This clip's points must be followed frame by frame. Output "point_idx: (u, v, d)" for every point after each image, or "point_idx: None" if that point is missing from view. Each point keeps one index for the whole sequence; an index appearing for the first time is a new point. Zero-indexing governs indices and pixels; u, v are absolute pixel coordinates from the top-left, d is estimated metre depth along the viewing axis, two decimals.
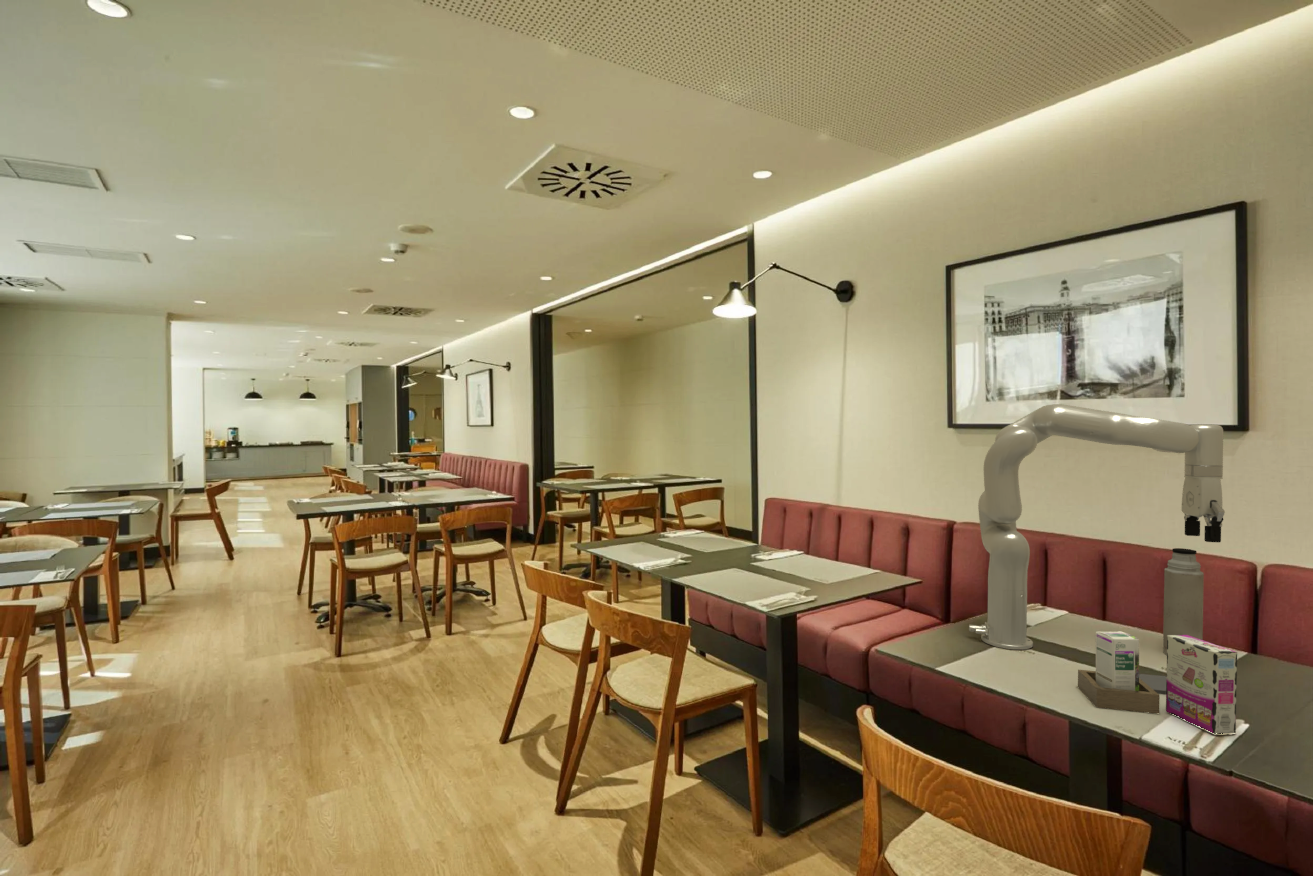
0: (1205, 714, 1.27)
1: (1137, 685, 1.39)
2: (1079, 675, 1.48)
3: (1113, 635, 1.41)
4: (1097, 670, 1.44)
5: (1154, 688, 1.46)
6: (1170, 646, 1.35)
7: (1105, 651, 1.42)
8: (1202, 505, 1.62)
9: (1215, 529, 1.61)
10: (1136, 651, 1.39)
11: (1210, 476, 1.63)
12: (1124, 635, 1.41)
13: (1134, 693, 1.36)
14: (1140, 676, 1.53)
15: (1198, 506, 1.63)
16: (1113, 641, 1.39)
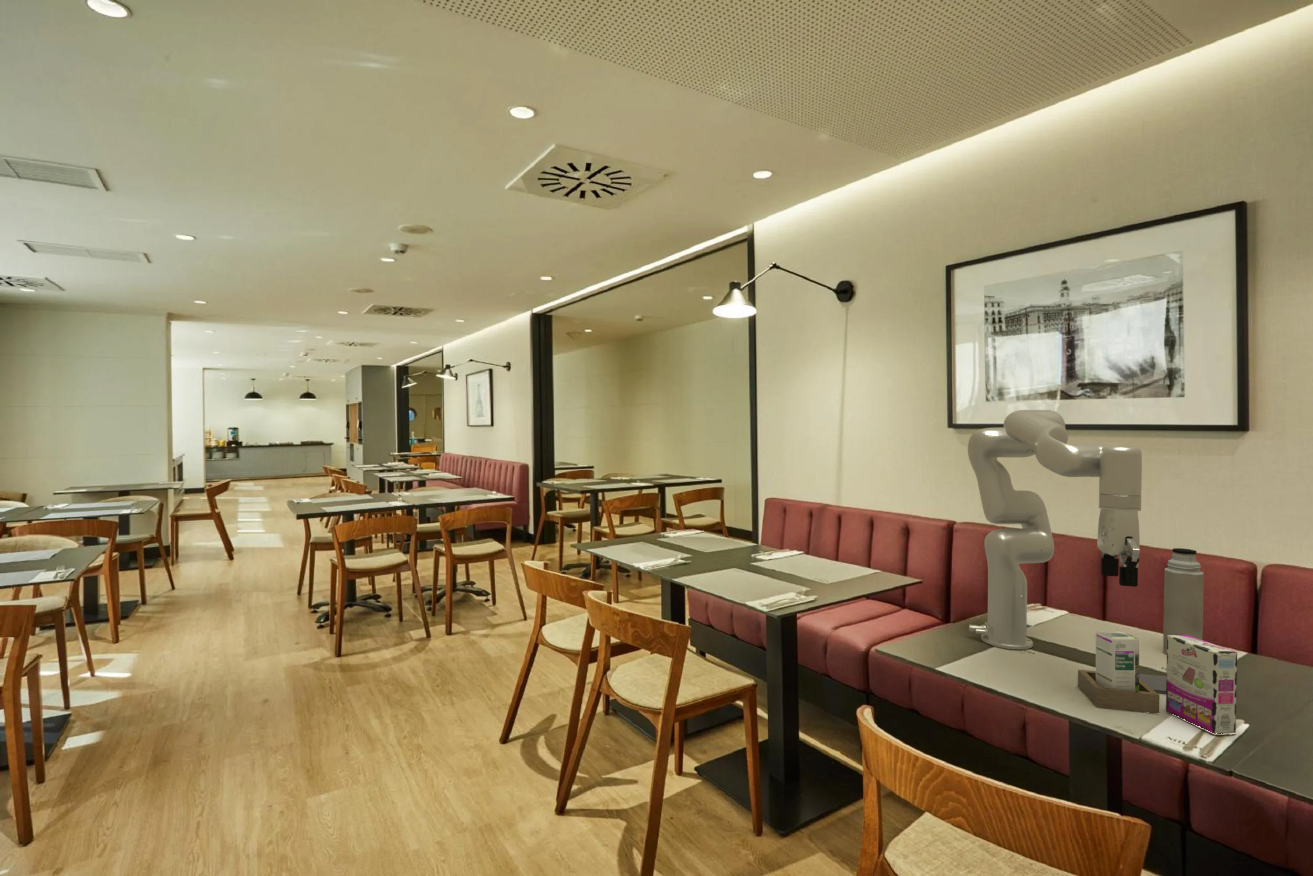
0: (1205, 714, 1.27)
1: (1137, 685, 1.39)
2: (1079, 675, 1.48)
3: (1113, 635, 1.41)
4: (1097, 670, 1.44)
5: (1154, 688, 1.46)
6: (1170, 646, 1.35)
7: (1105, 651, 1.42)
8: (1116, 542, 1.37)
9: (1131, 571, 1.36)
10: (1136, 651, 1.39)
11: (1126, 508, 1.38)
12: (1124, 635, 1.41)
13: (1134, 693, 1.36)
14: (1140, 676, 1.53)
15: (1112, 543, 1.38)
16: (1113, 641, 1.39)
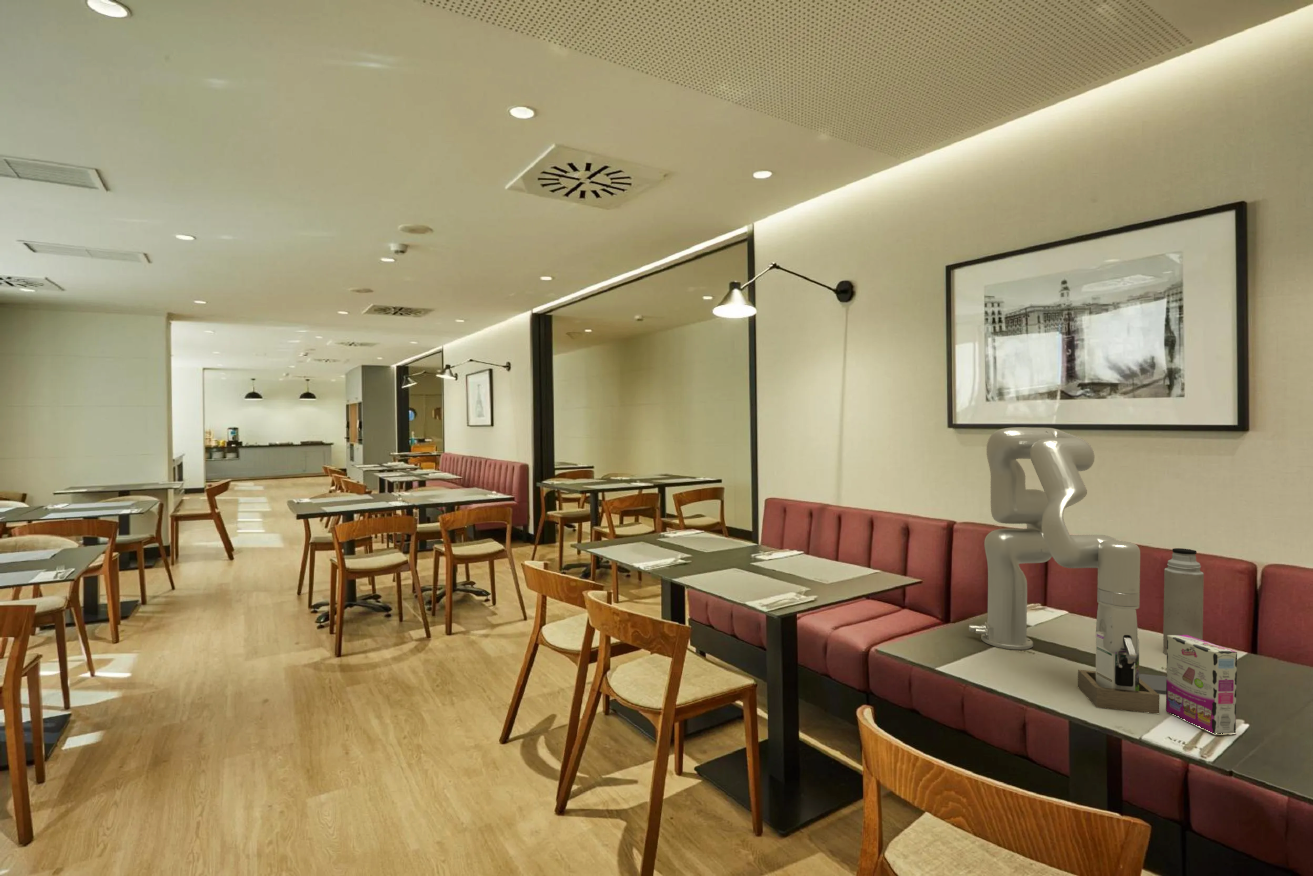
0: (1205, 714, 1.27)
1: (1137, 685, 1.39)
2: (1079, 675, 1.48)
3: None
4: (1097, 670, 1.44)
5: (1154, 688, 1.46)
6: (1170, 646, 1.35)
7: (1105, 651, 1.42)
8: (1114, 640, 1.38)
9: (1126, 671, 1.37)
10: None
11: (1124, 606, 1.38)
12: None
13: (1134, 693, 1.36)
14: (1140, 676, 1.53)
15: (1110, 640, 1.39)
16: None
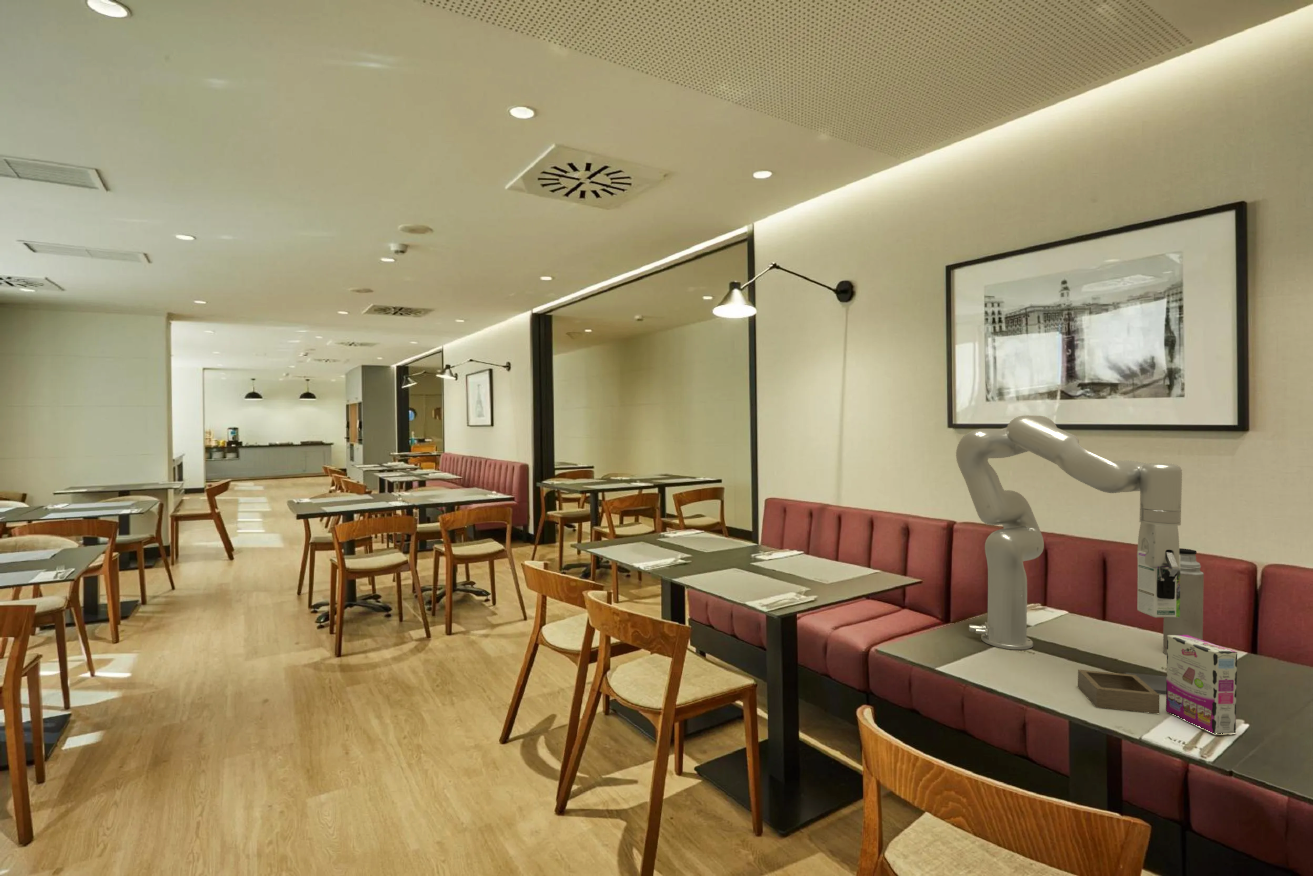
0: (1205, 714, 1.27)
1: (1178, 599, 1.46)
2: (1079, 675, 1.48)
3: None
4: (1139, 587, 1.51)
5: (1154, 688, 1.46)
6: (1170, 646, 1.35)
7: (1147, 567, 1.49)
8: (1157, 555, 1.45)
9: (1168, 585, 1.45)
10: None
11: (1166, 522, 1.45)
12: None
13: (1134, 693, 1.36)
14: (1140, 676, 1.53)
15: (1153, 556, 1.46)
16: None
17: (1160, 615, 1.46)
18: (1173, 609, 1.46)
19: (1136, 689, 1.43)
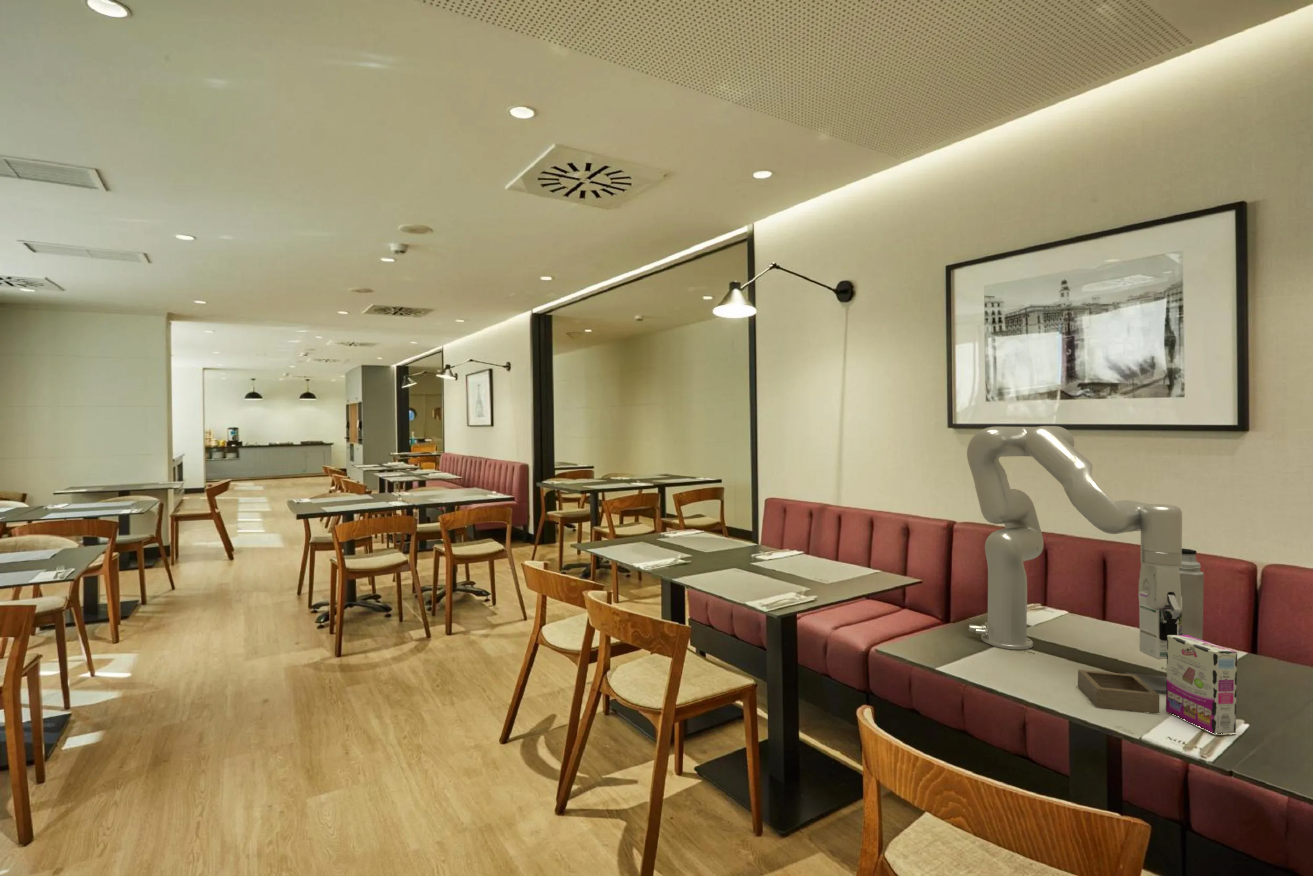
0: (1205, 714, 1.27)
1: None
2: (1079, 675, 1.48)
3: None
4: (1141, 627, 1.51)
5: (1154, 688, 1.46)
6: (1170, 646, 1.35)
7: (1149, 608, 1.49)
8: (1159, 597, 1.45)
9: (1170, 627, 1.45)
10: None
11: (1167, 564, 1.46)
12: None
13: (1134, 693, 1.36)
14: (1140, 676, 1.53)
15: (1154, 598, 1.46)
16: None
17: (1163, 657, 1.47)
18: None
19: (1136, 689, 1.43)
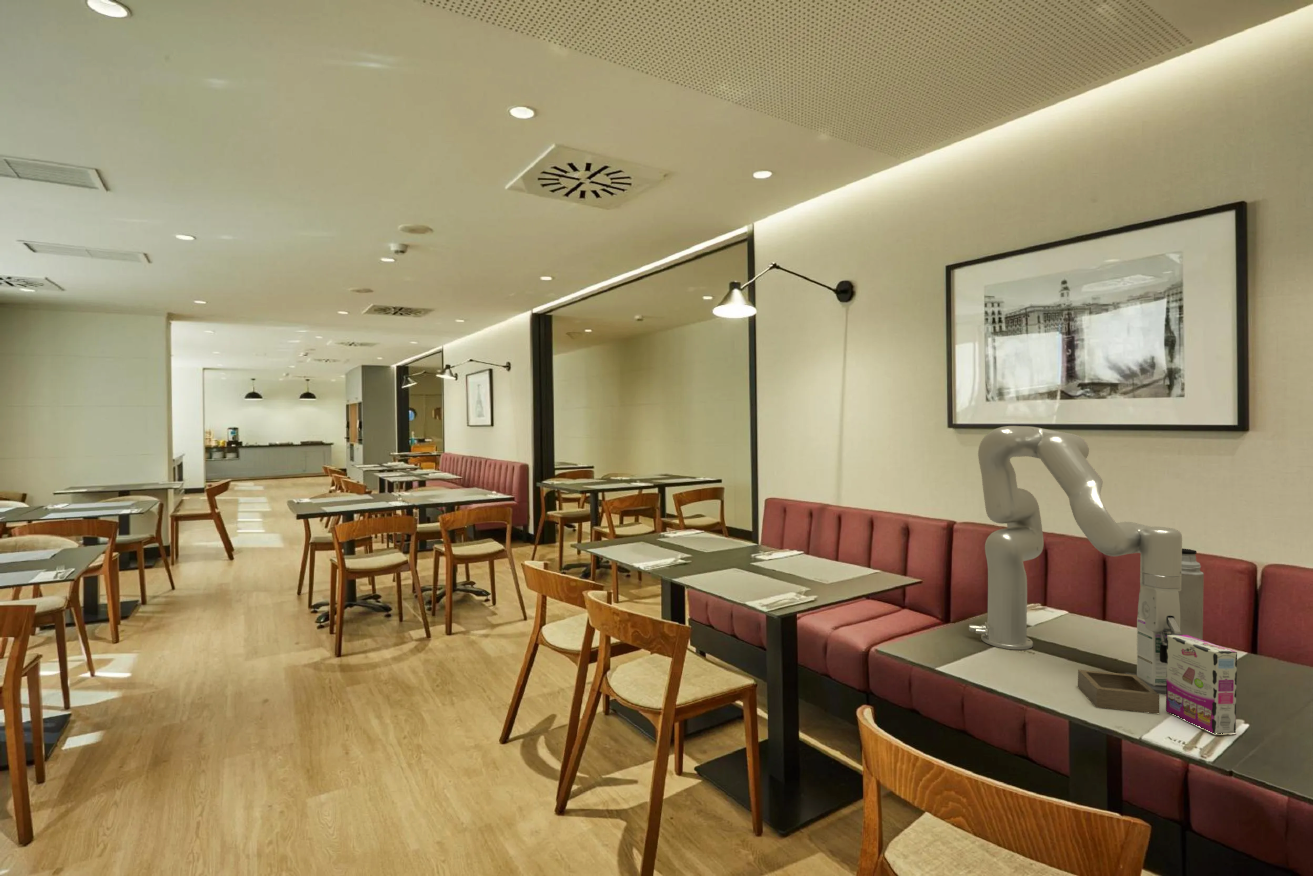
0: (1205, 714, 1.27)
1: None
2: (1079, 675, 1.48)
3: None
4: (1138, 653, 1.52)
5: (1154, 688, 1.46)
6: (1170, 646, 1.35)
7: (1145, 635, 1.50)
8: (1158, 621, 1.45)
9: None
10: None
11: (1167, 588, 1.46)
12: None
13: (1134, 693, 1.36)
14: None
15: (1154, 621, 1.46)
16: None
17: (1158, 684, 1.47)
18: None
19: (1136, 689, 1.43)
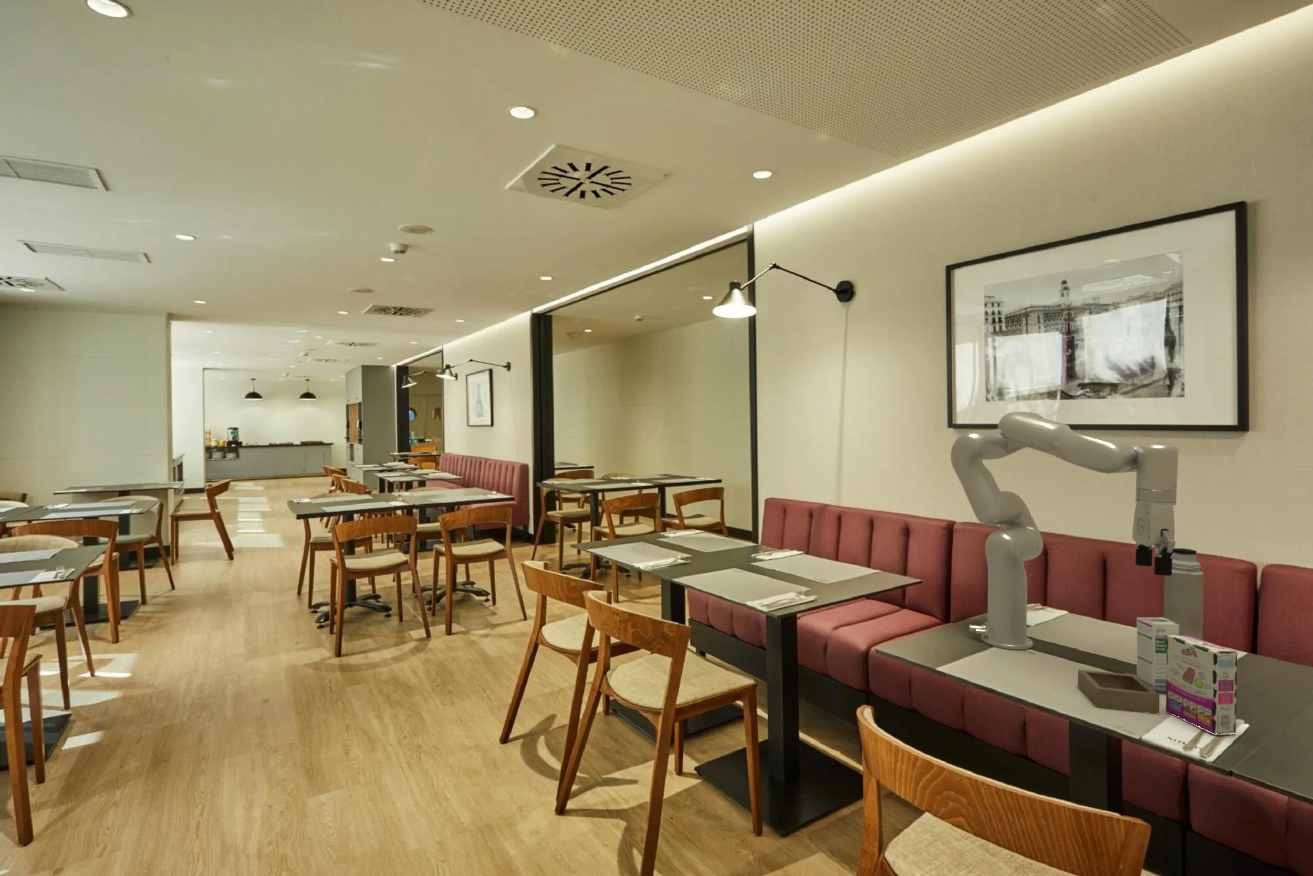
0: (1205, 714, 1.27)
1: None
2: (1079, 675, 1.48)
3: (1153, 620, 1.49)
4: (1138, 653, 1.52)
5: (1154, 688, 1.46)
6: (1170, 646, 1.35)
7: (1145, 635, 1.50)
8: (1152, 534, 1.46)
9: (1165, 561, 1.45)
10: None
11: (1162, 502, 1.47)
12: (1164, 620, 1.49)
13: (1134, 693, 1.36)
14: None
15: (1148, 535, 1.47)
16: (1153, 625, 1.48)
17: (1158, 684, 1.47)
18: None
19: (1136, 689, 1.43)
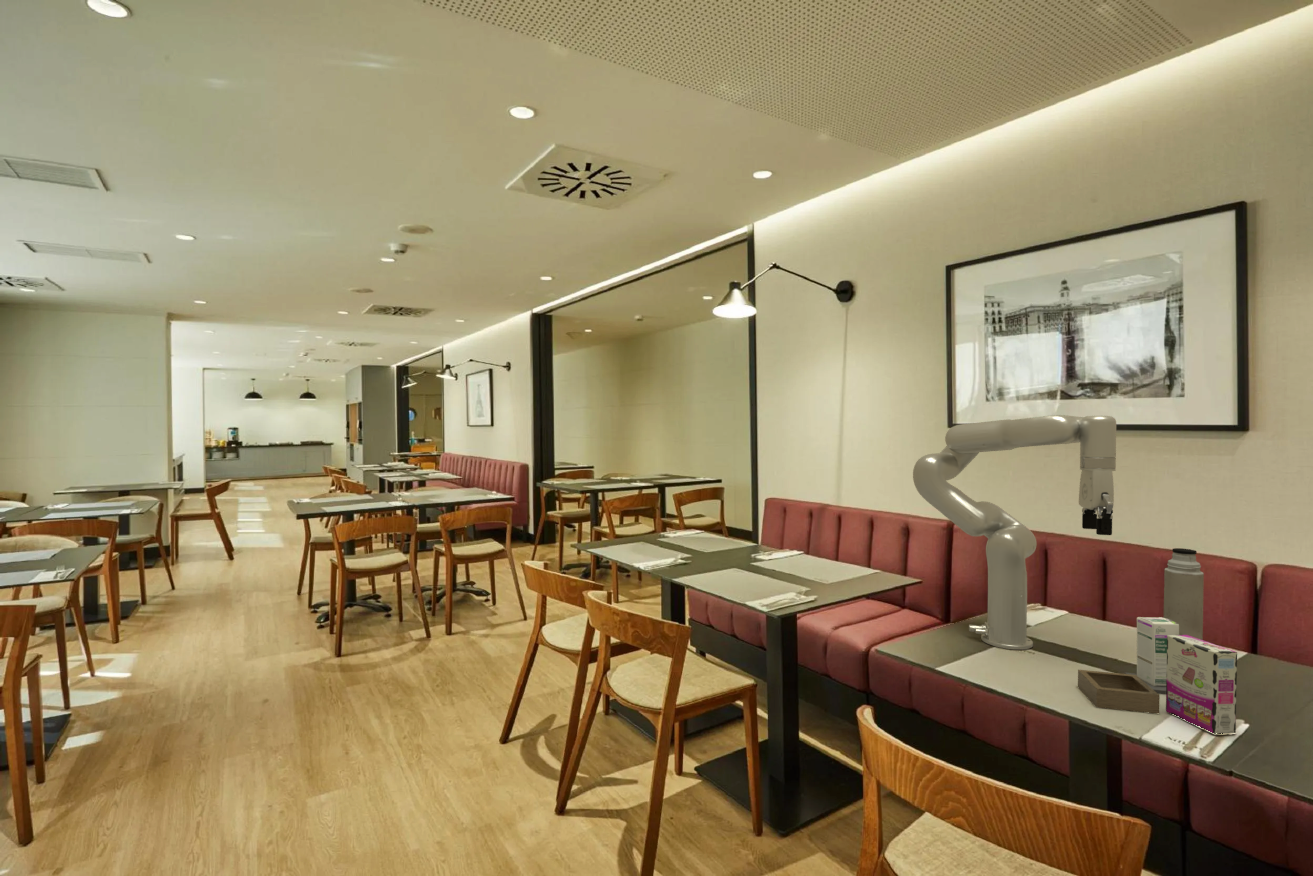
0: (1205, 714, 1.27)
1: None
2: (1079, 675, 1.48)
3: (1153, 620, 1.49)
4: (1138, 653, 1.52)
5: (1154, 688, 1.46)
6: (1170, 646, 1.35)
7: (1145, 635, 1.50)
8: (1094, 497, 1.60)
9: (1106, 522, 1.59)
10: None
11: (1102, 468, 1.61)
12: (1164, 620, 1.49)
13: (1134, 693, 1.36)
14: None
15: (1090, 498, 1.61)
16: (1153, 625, 1.48)
17: (1158, 684, 1.47)
18: None
19: (1136, 689, 1.43)
